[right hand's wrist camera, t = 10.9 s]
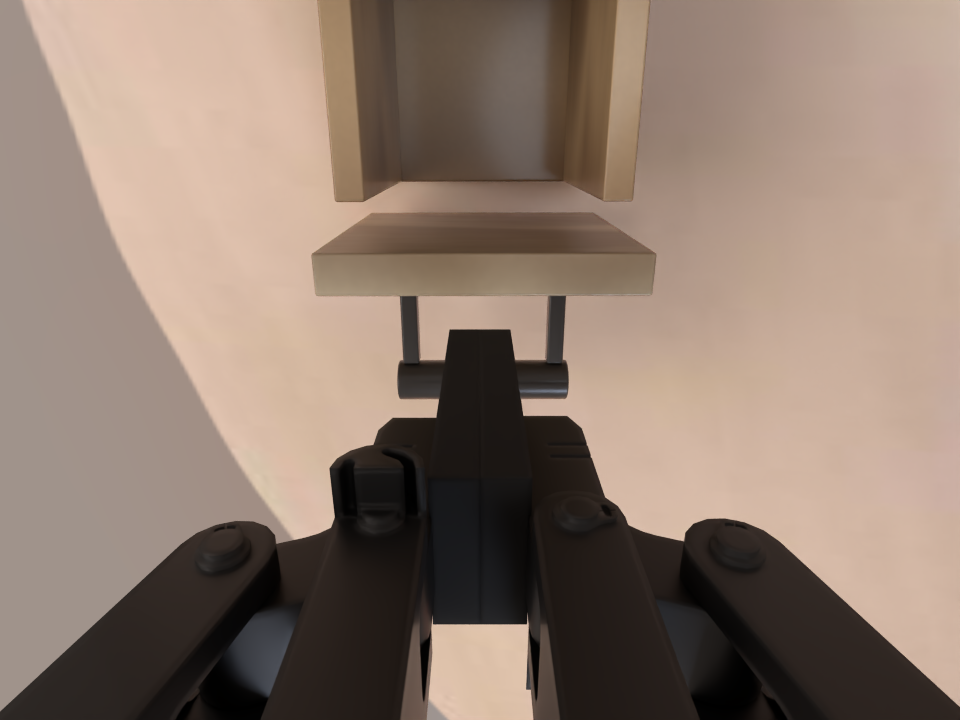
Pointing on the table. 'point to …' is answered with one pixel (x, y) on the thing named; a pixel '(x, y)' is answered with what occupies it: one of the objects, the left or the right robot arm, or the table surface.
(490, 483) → the right robot arm
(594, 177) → the drawer
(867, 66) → the table surface
